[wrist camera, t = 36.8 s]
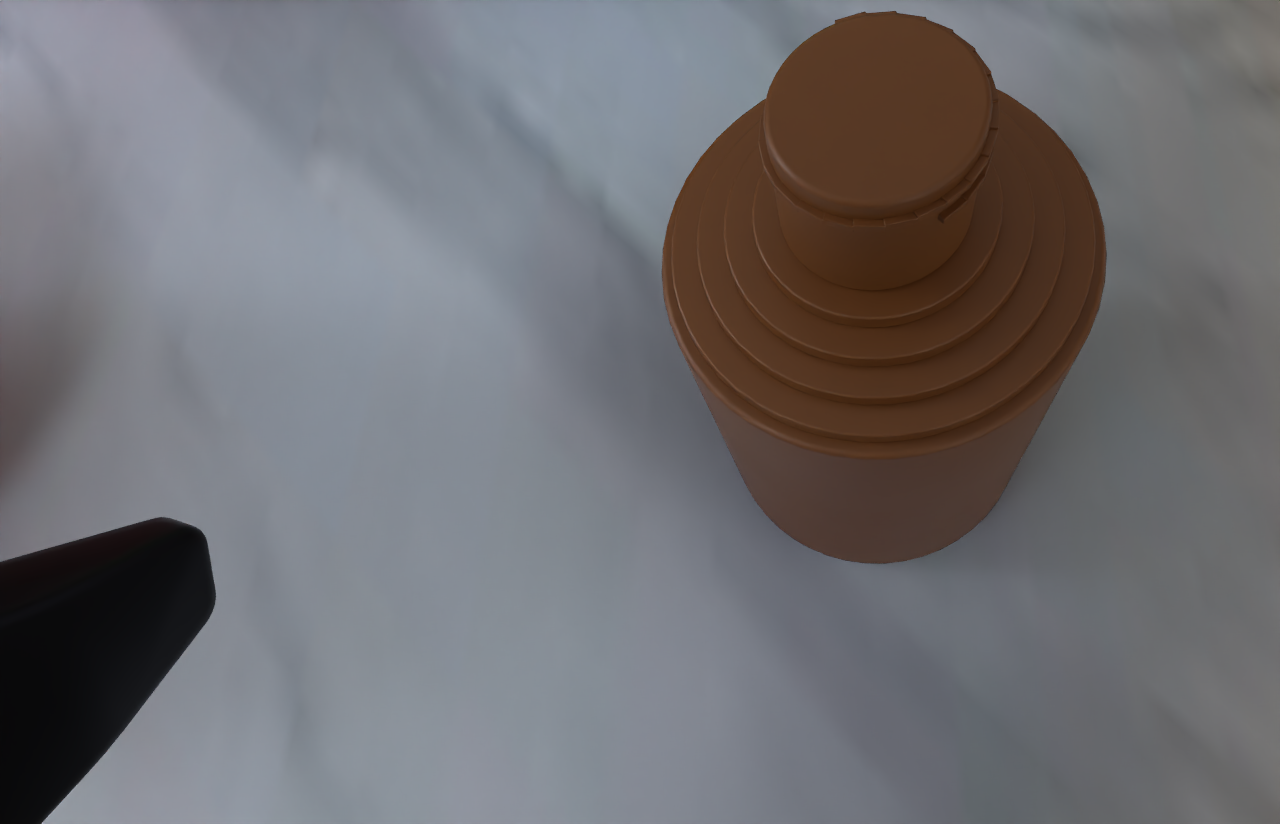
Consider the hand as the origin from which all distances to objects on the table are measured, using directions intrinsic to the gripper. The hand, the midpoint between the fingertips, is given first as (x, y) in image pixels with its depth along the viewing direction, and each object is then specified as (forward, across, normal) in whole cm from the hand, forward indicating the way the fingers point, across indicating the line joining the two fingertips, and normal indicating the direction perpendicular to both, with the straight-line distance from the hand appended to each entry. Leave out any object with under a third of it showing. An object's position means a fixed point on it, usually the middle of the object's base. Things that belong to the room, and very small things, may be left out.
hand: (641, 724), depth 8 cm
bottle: (+14, 0, +4) cm, 15 cm away
